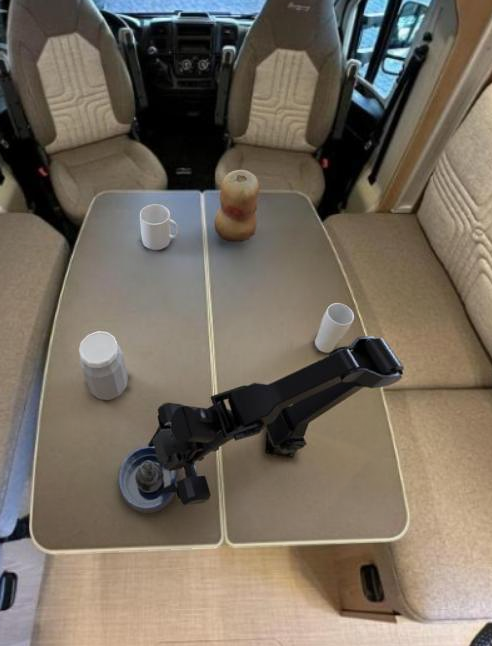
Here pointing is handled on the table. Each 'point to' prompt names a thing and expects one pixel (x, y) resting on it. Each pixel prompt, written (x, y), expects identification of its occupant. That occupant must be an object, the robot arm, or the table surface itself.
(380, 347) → the robot arm
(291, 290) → the table surface
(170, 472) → the bowl
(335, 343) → the drinking glass
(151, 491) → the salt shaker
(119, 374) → the jar
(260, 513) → the table surface
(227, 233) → the butternut squash
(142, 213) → the mug
